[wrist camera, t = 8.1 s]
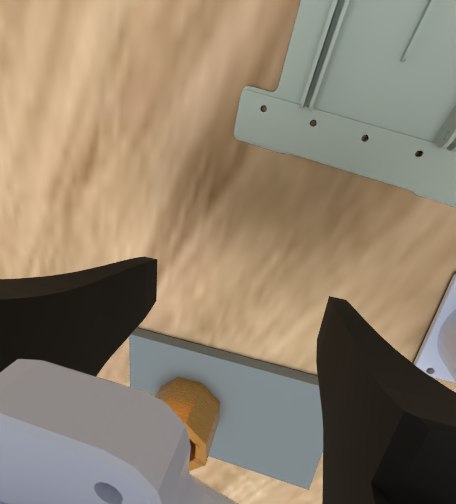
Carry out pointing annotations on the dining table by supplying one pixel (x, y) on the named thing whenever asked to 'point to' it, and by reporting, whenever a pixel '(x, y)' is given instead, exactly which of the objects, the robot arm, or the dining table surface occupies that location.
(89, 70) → the dining table surface
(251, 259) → the dining table surface
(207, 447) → the collar ring
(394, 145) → the metal bracket
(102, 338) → the robot arm
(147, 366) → the stand
